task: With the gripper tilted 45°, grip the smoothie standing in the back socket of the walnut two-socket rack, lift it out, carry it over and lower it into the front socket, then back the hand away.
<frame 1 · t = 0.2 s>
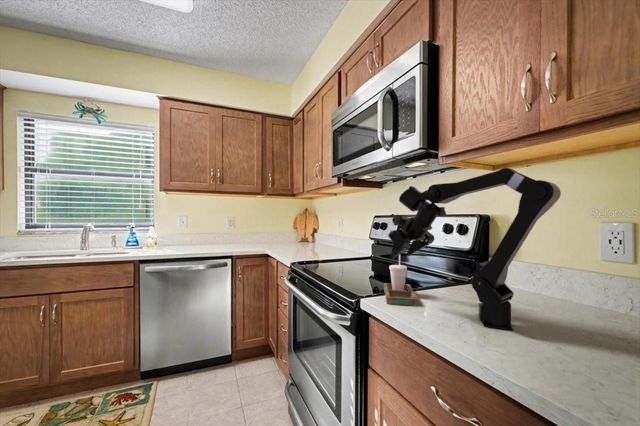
hand: (400, 256, 97), 14 cm above the worktop, tool tilted 35°, fingers open, 9 cm apart
smoothie: (398, 293, 102), resting in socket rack
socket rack: (399, 296, 98), on the worktop
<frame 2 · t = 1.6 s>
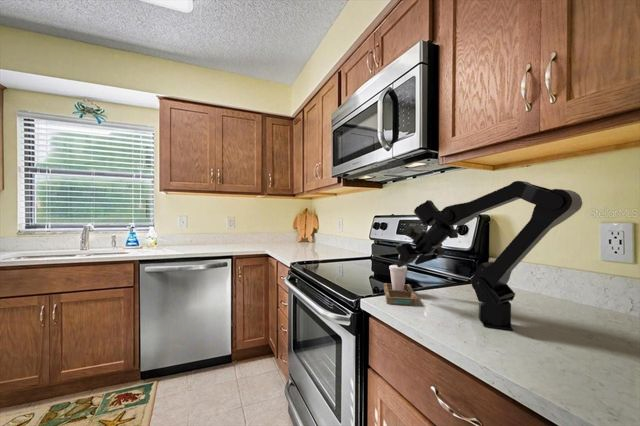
hand: (406, 265, 98), 11 cm above the worktop, tool tilted 45°, fingers open, 9 cm apart
nothing on the worktop moved.
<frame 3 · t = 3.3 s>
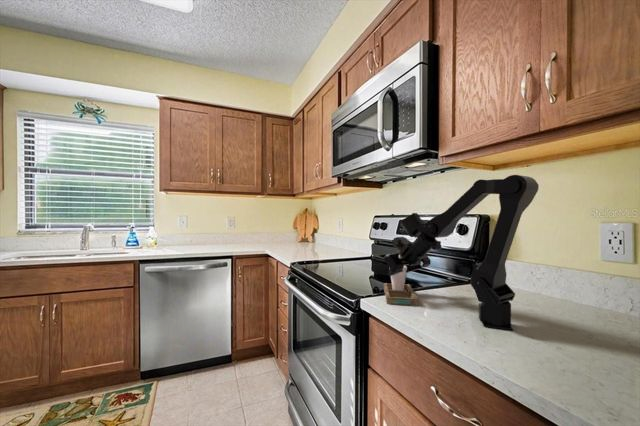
hand: (395, 274, 103), 7 cm above the worktop, tool tilted 45°, fingers closed on smoothie, 6 cm apart
smoothie: (398, 293, 102), resting in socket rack, touching gripper
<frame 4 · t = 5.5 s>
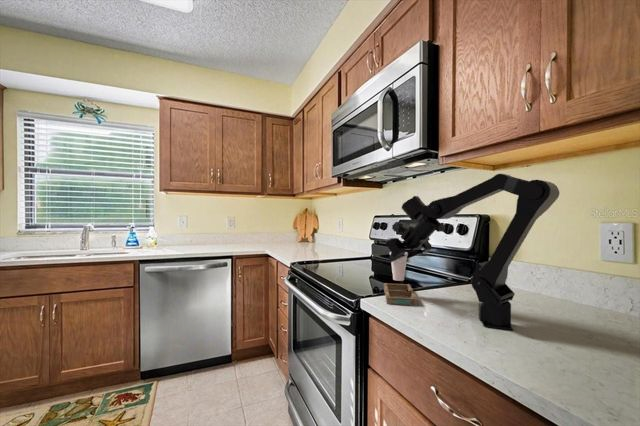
hand: (395, 260, 100), 12 cm above the worktop, tool tilted 45°, fingers closed on smoothie, 6 cm apart
smoothie: (398, 280, 99), point 5 cm above the worktop, touching gripper
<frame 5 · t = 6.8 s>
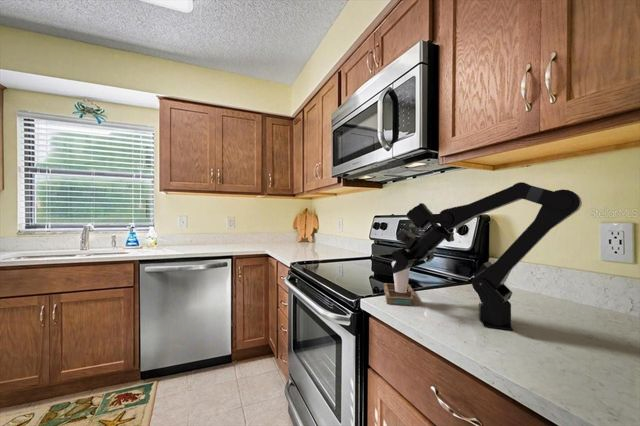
hand: (397, 270, 94), 10 cm above the worktop, tool tilted 45°, fingers closed on smoothie, 6 cm apart
smoothie: (400, 292, 93), point 3 cm above the worktop, touching gripper
when the fingers open (8 cm above the worktop, at t = 7.7 s): smoothie drops 1 cm, resting in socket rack.
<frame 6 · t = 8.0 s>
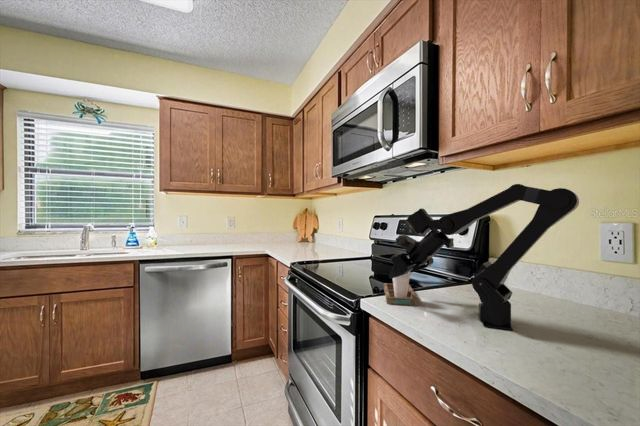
hand: (397, 275, 94), 8 cm above the worktop, tool tilted 45°, fingers open, 9 cm apart
smoothie: (400, 300, 93), resting in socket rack
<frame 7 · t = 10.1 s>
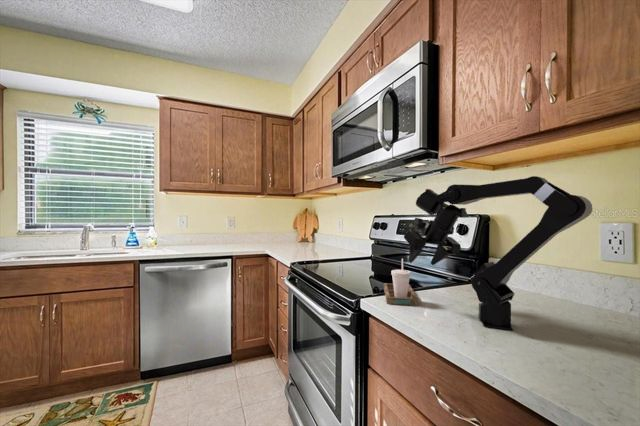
hand: (420, 263, 91), 13 cm above the worktop, tool tilted 30°, fingers open, 9 cm apart
nothing on the worktop moved.
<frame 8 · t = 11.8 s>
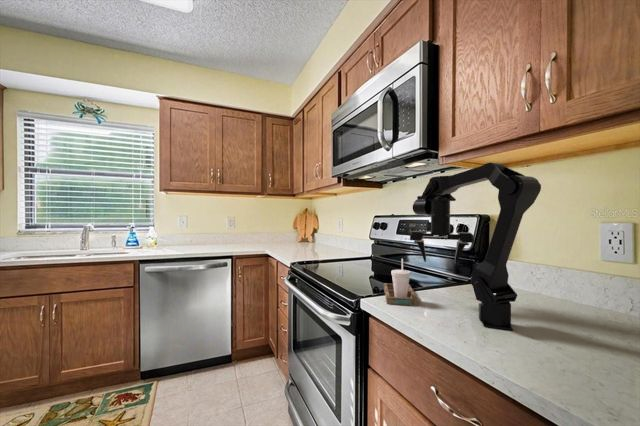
hand: (440, 262, 91), 13 cm above the worktop, tool pointing down, fingers open, 9 cm apart
nothing on the worktop moved.
at the end: smoothie 0.2 cm from the target spot, resting in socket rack; smoothie tilted 0°; the gripper is holding nothing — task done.
